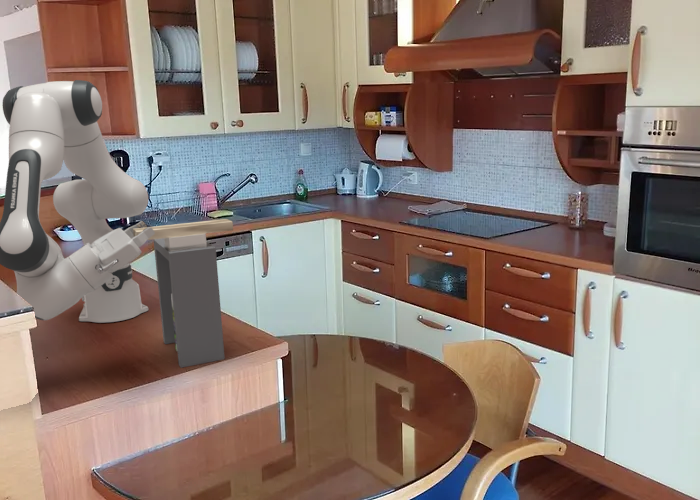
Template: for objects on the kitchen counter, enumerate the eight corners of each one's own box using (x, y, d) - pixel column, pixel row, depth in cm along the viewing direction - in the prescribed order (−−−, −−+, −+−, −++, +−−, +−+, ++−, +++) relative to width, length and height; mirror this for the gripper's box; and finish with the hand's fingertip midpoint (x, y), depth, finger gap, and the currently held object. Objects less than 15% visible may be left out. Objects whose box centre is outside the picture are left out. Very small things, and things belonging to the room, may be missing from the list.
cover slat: (134, 237, 146) (133, 228, 146) (227, 227, 155) (226, 218, 154) (137, 241, 142) (136, 231, 141) (233, 230, 150) (232, 221, 150)
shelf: (163, 341, 165) (153, 239, 160) (203, 334, 170) (194, 234, 164) (180, 367, 148) (169, 253, 143) (224, 359, 152) (215, 247, 147)
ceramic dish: (165, 247, 150) (163, 234, 149) (200, 242, 153) (199, 230, 153) (170, 251, 145) (169, 238, 144) (206, 247, 148) (205, 233, 147)
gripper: (89, 261, 130) (148, 220, 134) (80, 245, 149) (133, 209, 152) (109, 286, 133) (166, 245, 137) (98, 267, 151) (149, 231, 155)
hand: (148, 226), depth 145 cm, fingers open, 8 cm apart
